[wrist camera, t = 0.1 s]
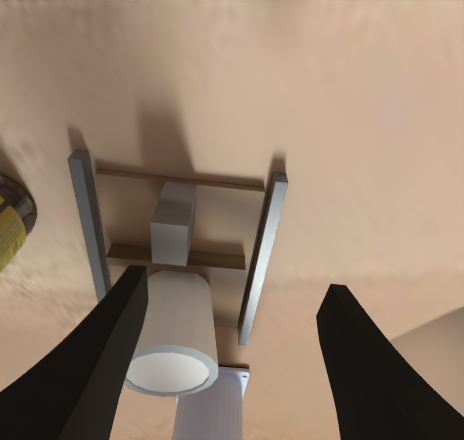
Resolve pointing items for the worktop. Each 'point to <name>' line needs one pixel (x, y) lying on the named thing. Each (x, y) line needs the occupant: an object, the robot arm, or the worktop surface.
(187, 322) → the white cup
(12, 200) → the sauce bottle
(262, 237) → the lane rails
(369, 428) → the robot arm
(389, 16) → the worktop surface
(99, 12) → the worktop surface
